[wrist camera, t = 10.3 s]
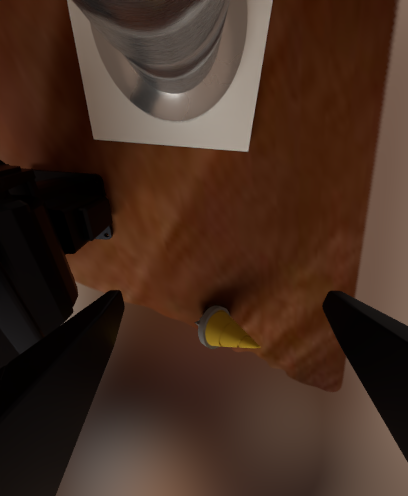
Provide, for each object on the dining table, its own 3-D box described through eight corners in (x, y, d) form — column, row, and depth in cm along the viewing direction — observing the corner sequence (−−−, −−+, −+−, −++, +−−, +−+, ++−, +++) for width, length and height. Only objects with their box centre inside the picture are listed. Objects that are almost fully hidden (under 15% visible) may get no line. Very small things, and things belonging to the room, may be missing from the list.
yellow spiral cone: (189, 299, 26) (250, 322, 18) (215, 301, 29) (275, 321, 22) (181, 338, 25) (241, 380, 17) (208, 336, 28) (268, 369, 21)
